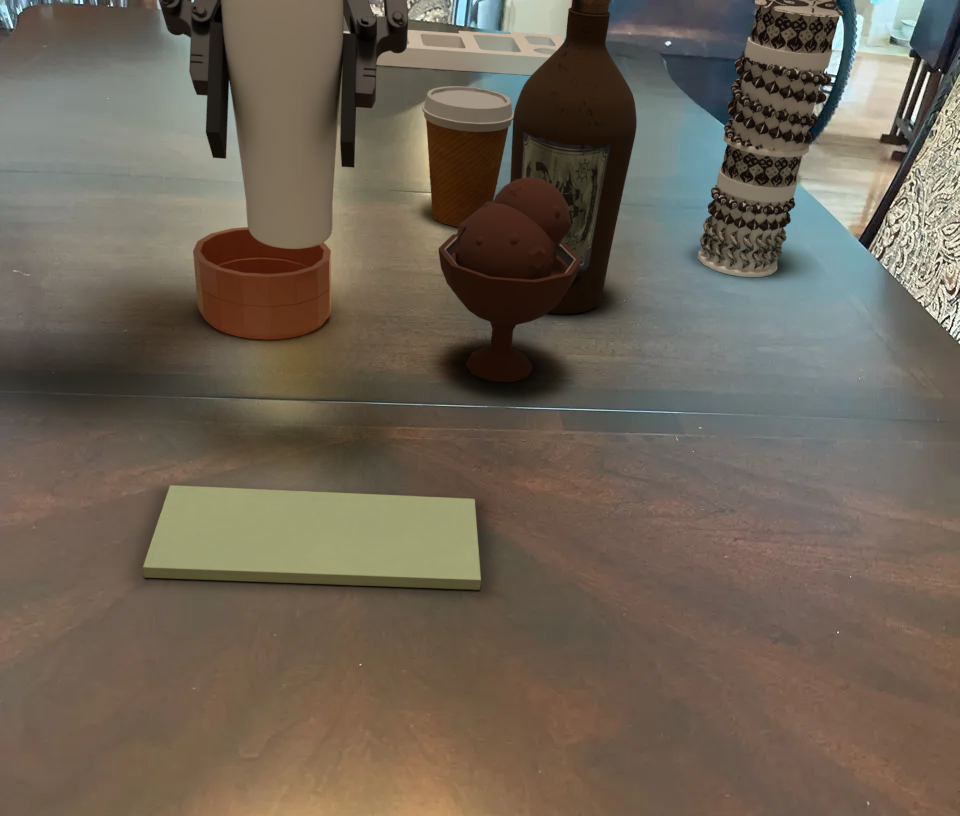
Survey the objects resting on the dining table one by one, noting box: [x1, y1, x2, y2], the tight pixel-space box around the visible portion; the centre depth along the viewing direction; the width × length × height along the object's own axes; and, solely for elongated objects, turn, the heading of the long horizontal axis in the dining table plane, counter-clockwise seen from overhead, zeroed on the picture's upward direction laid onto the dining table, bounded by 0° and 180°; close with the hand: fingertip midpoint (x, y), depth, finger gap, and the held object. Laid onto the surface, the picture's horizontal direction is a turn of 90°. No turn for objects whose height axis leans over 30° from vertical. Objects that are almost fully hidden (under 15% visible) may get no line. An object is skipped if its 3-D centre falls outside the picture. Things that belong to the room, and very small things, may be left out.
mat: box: [142, 484, 482, 591], centre depth 66 cm, size 20×9×1 cm, turn 93°
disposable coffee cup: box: [421, 85, 514, 227], centre depth 111 cm, size 10×10×12 cm
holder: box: [344, 29, 565, 76], centre depth 172 cm, size 45×18×3 cm, turn 96°
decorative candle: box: [697, 0, 845, 278], centre depth 103 cm, size 9×9×25 cm
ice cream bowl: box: [437, 177, 581, 383], centre depth 83 cm, size 11×11×15 cm
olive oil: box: [509, 0, 638, 315], centre depth 92 cm, size 11×11×25 cm
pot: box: [192, 226, 332, 340], centre depth 90 cm, size 11×11×6 cm
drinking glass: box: [221, 0, 345, 249], centre depth 63 cm, size 7×7×15 cm
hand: (282, 149), depth 61 cm, fingers closed on drinking glass, 7 cm apart
